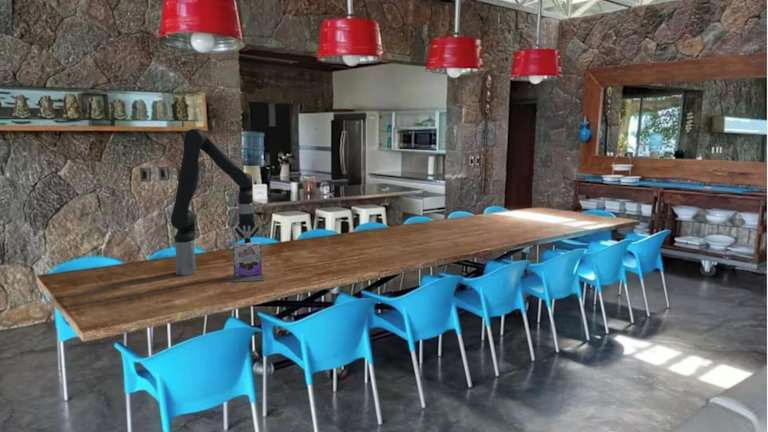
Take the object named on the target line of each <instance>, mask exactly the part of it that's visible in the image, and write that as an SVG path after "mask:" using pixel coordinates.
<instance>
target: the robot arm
mask: <svg viewBox="0 0 768 432" xmlns="http://www.w3.org/2000/svg"><path fill="white" fill-rule="evenodd" d="M201 151H203V152H204V153H205V154H206V155H208V156H209V158H210V159H211V160H212V161H213V162H214V163H215V165H216V166H217V167H218V168H219V169H221V171H223V172H224V173H225V174H226V175H228V176H229V177H230V178H231V179H232V180H233V181H234V183H235V184H236V185H238V187H239V189H238V190H239V193H238V224H237V226H235V227H234V231H235V232H236V233H237V234H238V235H239V236H240V237H241V238H243V239H244V243H252V242H251V238H254V237H255V235H256V234H257V233H258V232H259V230H260V226H257V224H256V223H255V210H254V209H255V208H254V201H253V200H254V197H253V190H254V189H253V187H254V186H253V185H254V179H253V176H252V175H251V173H247V172H244V170H242V169H241V168H240V167H239V165H238V163H236V161H233V159H231V158H230V156H228V155H227V154H225V153H224V152H223V151H222V150H221V149H220V148H219V147H218V146H217V145H216V144H215V143H214V142H213V140H211V139H210V137H209V136H208V135H207V134H206V133H205V132H204V131H203V130H202V129H200V128H191V129H189V130H187V131H186V132H185V134H184V137H183V154H182V160H181V164H180V170H179V175H178V181H177V189H176V194H175V200H174V204H173V209H172V212H171V215H170V216H171V217H170V223H171V226H172V227H173V228H174V229H176V230H177V231H176V234H175V236H174V246H175V248H174V249H175V256H174V263H175V275H176V276H178V275H179V276H190V275H194V274H195V273H196V272H197V268H196V267H197V266H196V253H195V238H194V237H195V233H196V220H195V214H194V213H193V212H192V211H191V210H190V204H191V200H192V198H193V197H194V194H195V192H196V191H197V188H198V182H199V178H200V169H199V168H200V167H199V157H200V152H201ZM252 231H253V232H252ZM242 232H243V233H242ZM251 233H252V234H251Z"/></svg>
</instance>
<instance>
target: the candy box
mask: <svg viewBox="0 0 768 432" xmlns="http://www.w3.org/2000/svg"><path fill="white" fill-rule="evenodd" d="M261 246H262V245H261V241H258V242H257V241H256V242H251V243H245V242H241V243H239V242H237V243H234V242H233V243H232V257H233V258H232V260H233V275H234V276H233V277H241V276H263V273H262V269H263V268H262V247H261Z"/></svg>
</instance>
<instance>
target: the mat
mask: <svg viewBox="0 0 768 432" xmlns="http://www.w3.org/2000/svg"><path fill="white" fill-rule="evenodd" d="M265 279H266V275H254V276H239V277H234V276H229V277H228V278H227V280H226V283H243V282H249V283H250V282H265Z"/></svg>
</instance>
